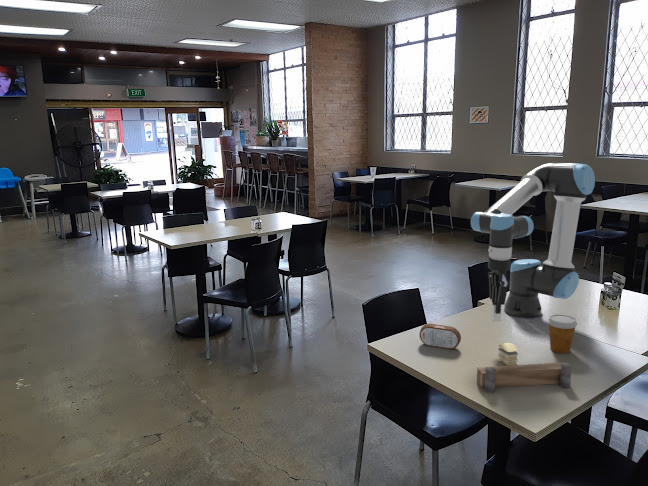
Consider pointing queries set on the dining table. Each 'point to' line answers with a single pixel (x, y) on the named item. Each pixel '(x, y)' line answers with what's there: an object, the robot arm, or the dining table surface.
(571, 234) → the robot arm
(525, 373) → the bar
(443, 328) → the tin
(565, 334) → the disposable coffee cup
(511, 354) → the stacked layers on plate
